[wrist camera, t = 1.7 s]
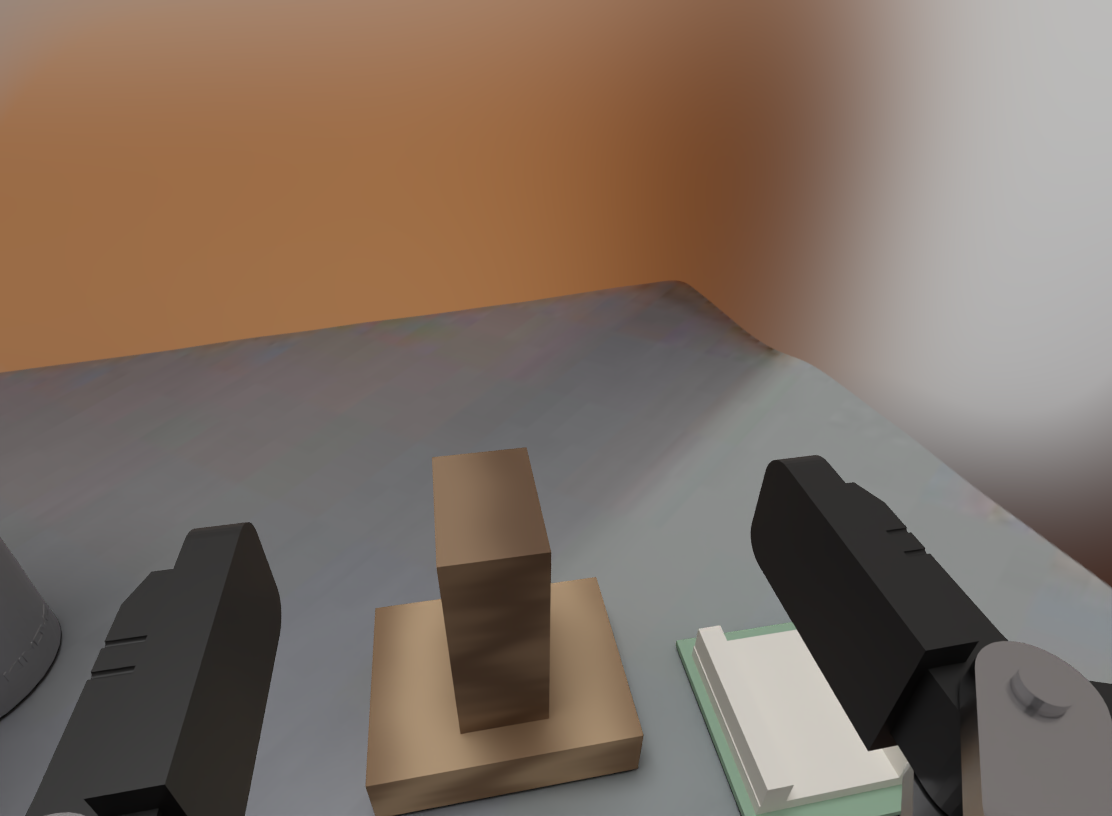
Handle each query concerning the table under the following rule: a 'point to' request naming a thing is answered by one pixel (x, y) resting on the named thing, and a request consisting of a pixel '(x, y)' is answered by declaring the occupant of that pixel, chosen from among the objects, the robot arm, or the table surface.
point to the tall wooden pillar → (493, 586)
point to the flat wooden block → (505, 752)
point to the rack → (786, 722)
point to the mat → (855, 812)
